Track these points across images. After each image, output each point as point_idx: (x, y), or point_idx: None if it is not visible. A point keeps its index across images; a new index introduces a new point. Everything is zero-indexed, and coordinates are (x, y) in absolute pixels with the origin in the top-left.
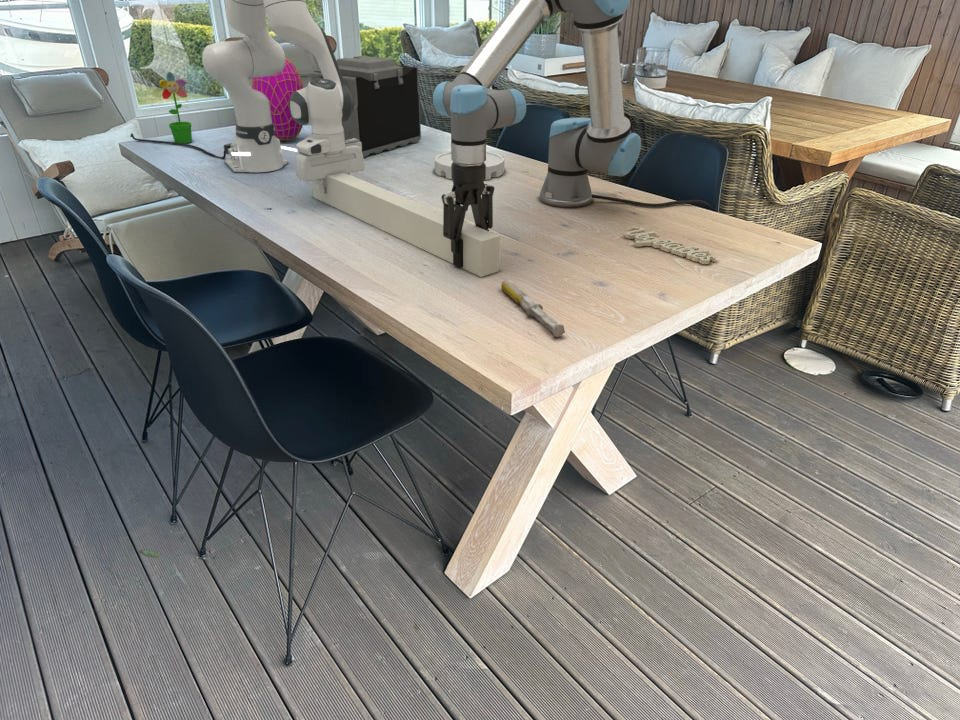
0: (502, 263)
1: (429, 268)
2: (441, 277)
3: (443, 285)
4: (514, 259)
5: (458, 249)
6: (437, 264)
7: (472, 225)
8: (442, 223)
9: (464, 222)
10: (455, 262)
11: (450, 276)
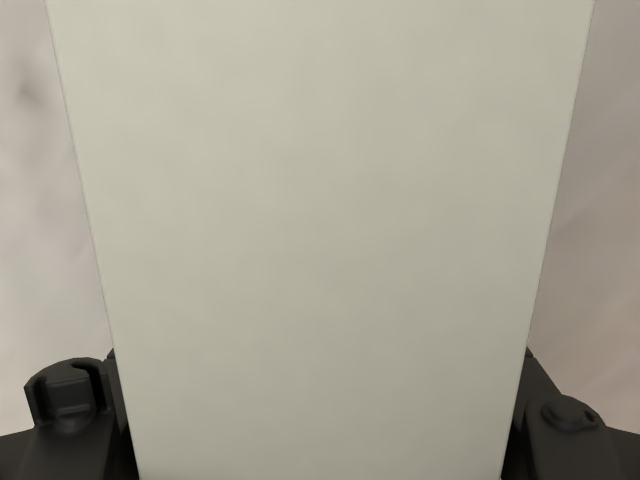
0: None
1: (35, 163)
2: (44, 328)
3: (4, 412)
4: (600, 391)
5: None
6: None
7: (481, 455)
8: (99, 52)
9: (500, 287)
10: None
11: (103, 349)
